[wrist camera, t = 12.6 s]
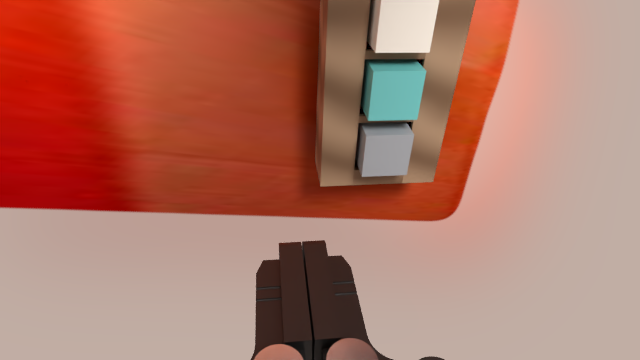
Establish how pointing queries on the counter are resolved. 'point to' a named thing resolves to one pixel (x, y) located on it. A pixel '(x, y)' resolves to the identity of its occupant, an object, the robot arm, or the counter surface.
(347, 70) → the frame
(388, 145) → the grey key
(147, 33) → the counter surface
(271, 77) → the counter surface
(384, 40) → the ivory key
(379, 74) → the teal key
